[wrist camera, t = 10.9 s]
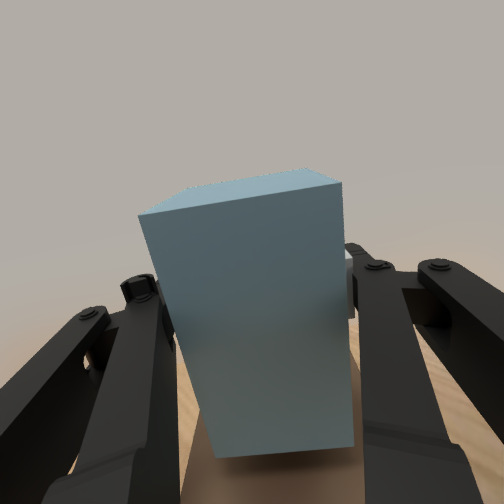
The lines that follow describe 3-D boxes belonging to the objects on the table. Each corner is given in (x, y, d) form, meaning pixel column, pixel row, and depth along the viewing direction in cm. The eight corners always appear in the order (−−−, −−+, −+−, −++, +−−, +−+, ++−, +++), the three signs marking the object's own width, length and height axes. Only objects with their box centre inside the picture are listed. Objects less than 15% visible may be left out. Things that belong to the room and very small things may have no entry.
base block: (350, 404, 21) (347, 343, 19) (421, 603, 12) (429, 526, 10) (227, 417, 22) (211, 360, 20) (204, 612, 13) (169, 543, 11)
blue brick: (322, 348, 17) (306, 168, 13) (354, 446, 11) (341, 182, 8) (229, 359, 17) (187, 188, 14) (215, 458, 12) (137, 215, 8)
